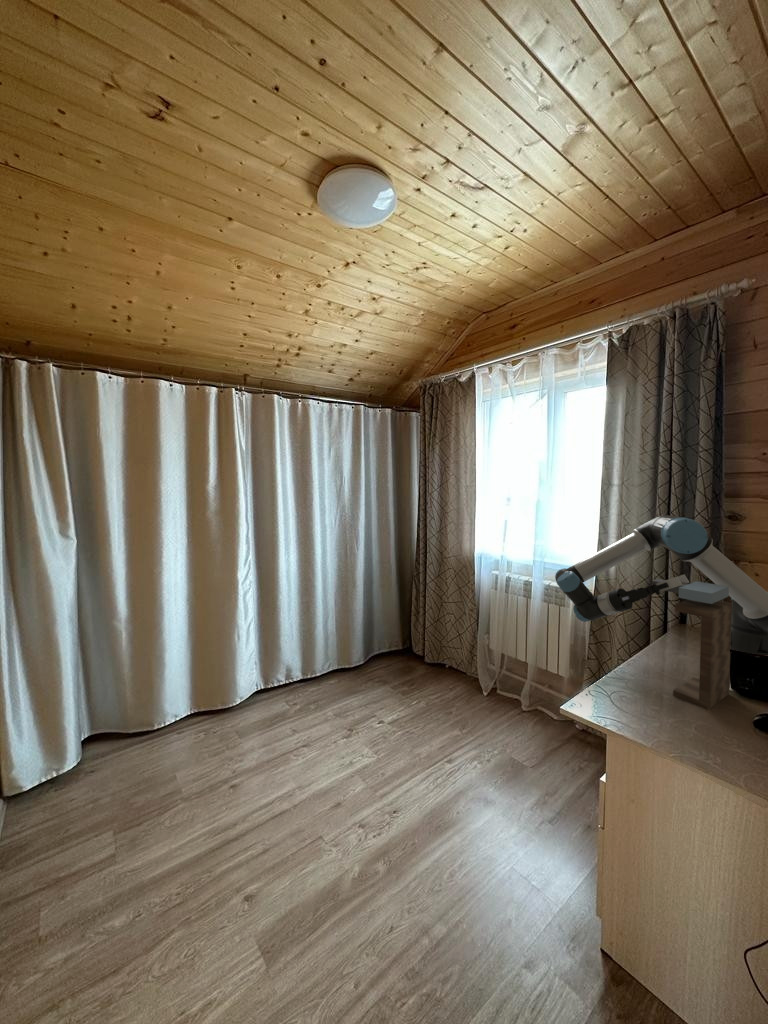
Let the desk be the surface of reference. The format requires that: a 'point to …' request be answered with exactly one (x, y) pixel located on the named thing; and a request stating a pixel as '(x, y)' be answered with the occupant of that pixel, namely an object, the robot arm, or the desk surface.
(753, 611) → the robot arm
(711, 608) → the shelf stand
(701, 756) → the desk surface
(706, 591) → the grey toy mallet
